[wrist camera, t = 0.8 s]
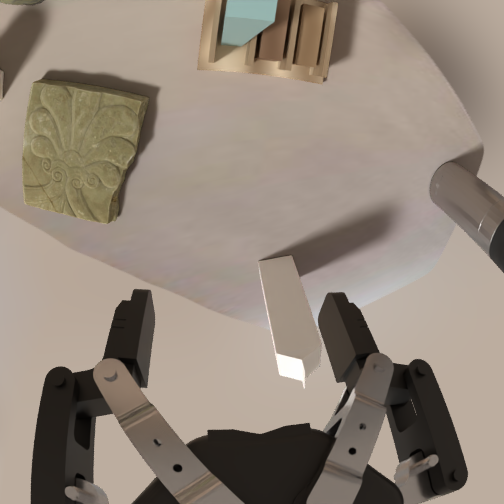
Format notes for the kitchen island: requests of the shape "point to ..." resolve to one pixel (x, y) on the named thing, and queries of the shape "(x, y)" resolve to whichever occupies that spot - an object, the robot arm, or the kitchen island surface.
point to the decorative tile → (79, 147)
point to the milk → (290, 319)
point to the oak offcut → (308, 35)
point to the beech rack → (243, 57)
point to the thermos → (21, 2)
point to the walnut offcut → (274, 35)
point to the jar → (1, 84)
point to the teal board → (246, 20)
